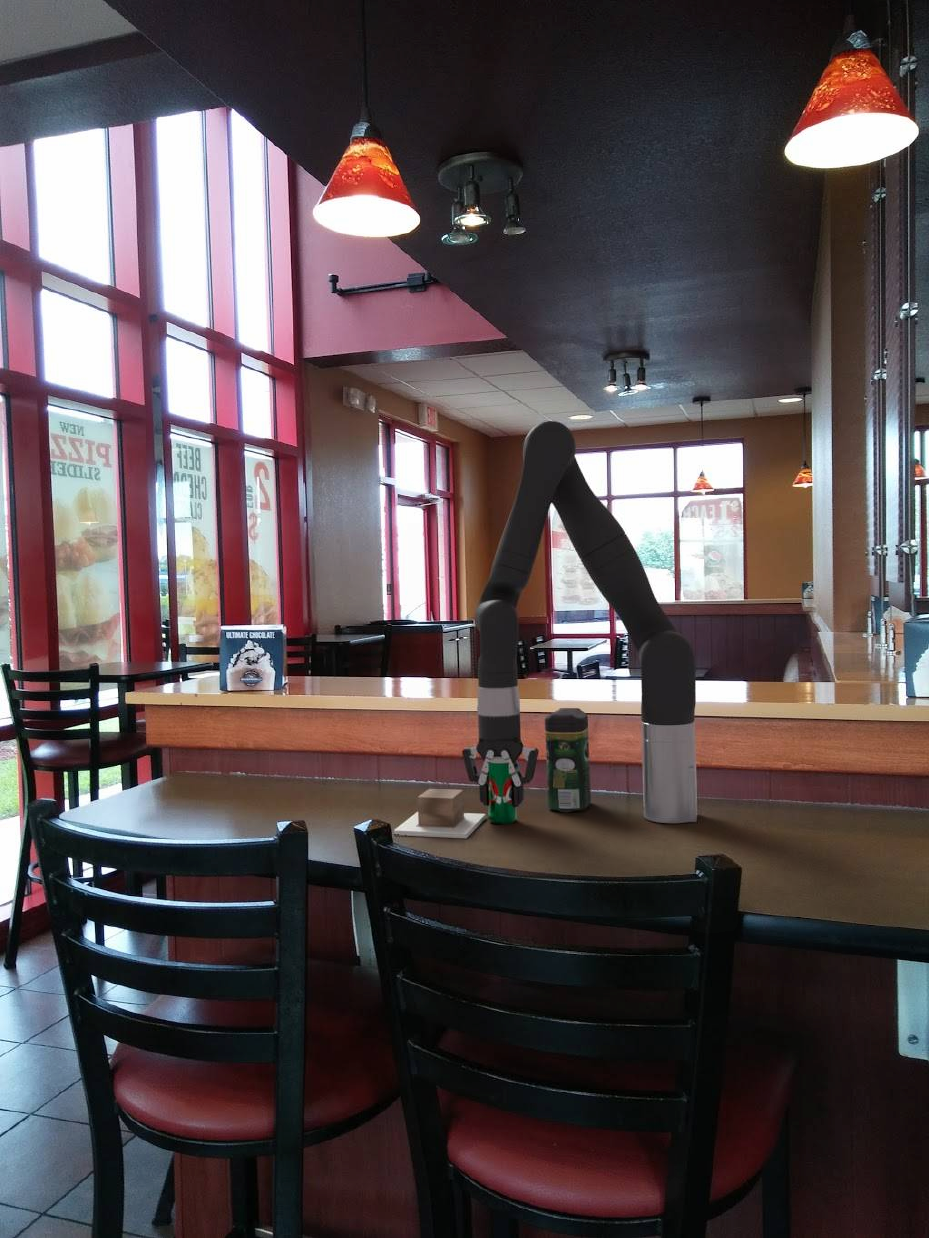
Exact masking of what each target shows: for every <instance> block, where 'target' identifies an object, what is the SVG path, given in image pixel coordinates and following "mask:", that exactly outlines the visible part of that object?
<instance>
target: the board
mask: <svg viewBox="0 0 929 1238" xmlns="http://www.w3.org/2000/svg"><path fill="white" fill-rule="evenodd" d="M486 815H487V814H486V813H473V812H472V813H471V812H469V813H467V812H464V818H463V819H462V820H461V821H460V822H459V823H457V824H456V825H455V826H454V827H441V826H420V825H419V824H418V811H417V812H415V813H414V814H412V816H410V817H409V818H408V819H407V820H405V821H404V822H402V823H401V824H400V825H399V826H398V827H396V828H395V829H394V830H393V835H394V834H396V835H395V836H405V835H406V836H409V837H426V838H427V837H428V838H449V839H451V838H452V839H467V838H468V837H470V836H471V834H472V833H473V832H474V831H475V830H476V829H477V828H478V827H479V826H480V825H481V824H483V822H484V821H485V820H486V818H487V816H486ZM397 834H399V835H397Z"/></svg>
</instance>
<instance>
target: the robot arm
mask: <svg viewBox="0 0 929 1238" xmlns="http://www.w3.org/2000/svg"><path fill="white" fill-rule="evenodd" d="M576 451H577V444H576V440H575V436H574V435H573V433H572V432H571V430H570V429H569V427H567V426H566V425H565V424H563V423H562V422H559V421H554V420H547V421H542V422H541V423H537V424H536V425H535V426H533V428H531V430H529V432H528V434H527V435H526V437H525V438H524V442H523V447H522V459H523V463H522V469H521V477H520V480H519V485H518V489H517V492H516V496H515V499H514V502H513V505H512V508H511V510H510V513H509V516H508V519H507V521H506V525H505V526H504V529H503V532H502V534H501V537H500V540H499V543H498V546H497V549H496V553H495V555H494V559H493V562H492V565H491V570H490V574H489V577H488V580H487V582H486V584H485V586H484V588H483V591H482V593H481V595H480V598H479V601H478V603H477V606H476V609H475V613H474V623H475V628H476V629H477V631H478V632H479V638H480V640H479V643H480V656H479V658H478V664H477V677H478V679H477V681H478V690H477V691H478V693H477V706H476V707H477V710H476V711H477V724H478V728H477V729H478V742H477V744H476V746H471V747H470V746H466V747H465V748H464V749H463V750H461V755H462V758H463V762H464V767H465V770H466V773H467V777H468V781H470V782H472V783H473V782H474V783H476V784H477V785H478V786H479V801H480V803H482V805H483V806H484V807H488V790H487V775H488V763H487V762H489V761H490V760H492V759H493V757H494V756H502V757H503V760H506V761H507V762H509V774H510V775H512V779H513V782H514V784H515V786H514V807H516V808H519V807H520V806H521V804H522V803H523V802H524V799H525V798H524V797H525V796H524V795H525V794H524V785H526V784H529V783H531V782H532V780H533V779H534V777H535V771H536V766H537V761H538V756H539V749H538V748H536V747H533V748H529V747H526V746H524V744H523V742H522V735H521V734H522V733H521V705H520V704H521V701H520V692H519V683H518V682H519V681H518V678H519V677H518V676H519V675H518V662H517V656H518V655H517V653H518V647H519V644H518V643H519V634H520V633H519V632H520V631H519V630H520V628H519V627H520V626H519V625H520V624H519V621H520V620H519V614H518V612H517V610H516V609H517V606H518V603H519V600H520V596H521V594H522V593H523V590H524V589H526V587H527V585H528V583H529V580H530V578H531V575H532V573H533V568H534V565H535V562H536V559H537V555H538V551H539V548H540V545H541V540H542V538H543V533H544V529H545V526H546V525H545V524H546V521H547V517H548V514H549V510H550V508H551V505H553V507H554V508H555V510H556V512H557V514H558V517H559V518H560V521H561V523H562V525H563V527H564V530H565V532H566V534H567V536H568V538H569V540H570V542H571V544H572V547H573V548H574V550H575V551H576V554H577V557H579V559H580V562H581V563H582V565H583V567H584V569H585V570H586V572H587V574H588V576H589V577H590V578H591V580H592V582H593V584H594V585H595V586H596V588H597V590H598V591H599V592H600V594H601V595H602V596H603V598H604V599H605V601H606V602H607V603H608V604H609V606H610V607H611V608H612V609H613V611H614V612H615V613H616V615H617V616H618V618H619V619H620V621H621V622H622V624H623V626H624V628H625V630H626V632H627V634H628V637H629V639H630V641H631V643H632V645H633V647H634V650H635V652H636V655H637V657H638V661H639V664H640V676H641V677H640V683H641V686H640V687H641V706H640V713H641V714H640V715H641V716H640V720H641V754H642V755H641V758H642V761H641V762H642V794H643V796H642V797H643V798H642V799H643V802H642V803H643V804H642V806H643V817H644V819H646V820H647V821H650V822H655V823H662V824H683V823H684V824H685V823H696V822H697V818H698V793H697V792H698V789H697V788H698V787H697V786H698V785H697V783H698V781H697V761H696V731H695V729H696V725H695V711H696V710H695V709H696V706H697V705H696V702H697V700H696V699H697V697H696V694H697V693H696V682H697V681H696V677H697V676H696V657H695V652H694V648H693V646H692V644H691V643H690V641H688V639H687V638H686V637H684V636H683V635H682V634H681V633H680V632H679V631H678V630H677V629H676V627H675V626H674V624H673V623H672V622H671V620H670V618H669V617H668V615H666V613H665V611H664V610H663V608H662V606H661V605H660V603H659V602H658V600H657V598H656V596H655V593H654V591H653V589H652V585H651V583H650V581H649V577H648V575H647V573H646V569H645V568H644V566H643V563H642V561H641V558H640V557H639V555H638V553H637V551H636V549H635V548H634V546H633V544H632V542H631V540H630V538H629V536H628V535H627V534H626V532H625V530H624V528H623V527H622V526H621V524H620V523H619V521H618V520H617V519H616V518H615V516H614V515H613V514H612V513H611V511H610V510H609V509H608V507H606V506H605V504H604V503H602V501H601V500H600V499H599V497H597V495H596V494H595V492H594V491H593V490H592V489H591V487H590V485H589V483H588V482H587V480H586V478H585V476H584V474H583V472H582V469H581V468H580V466H579V464H578V463H579V462H578V461H577V458H576ZM477 753H478V754H479V756H480V757H481V759H482V761H483V765H482V768H481V770H480V773H479V772H478V768H477V764H476V760H475V759H476V757H477ZM522 754H523V755H524V759H525V761H527V763H526V767H525V768H526V769H525V772H524V775H522V771H521V768H520V764H519V762H518V760H519V758H520V756H521V755H522ZM514 763H515V767H514ZM510 767H511V768H510Z"/></svg>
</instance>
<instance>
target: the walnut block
mask: <svg viewBox="0 0 929 1238" xmlns="http://www.w3.org/2000/svg"><path fill="white" fill-rule="evenodd" d="M464 805H465V804H464V789H449V788H448V789H445V788H442V789H441V788H428V789H427V790H425V791H424V792H422V793H421V794H420V795H419V796H417V812H418V824H419V825H420V826H441V827H454V826H455V825H456V824H457V823H459V822H460V821H461V820H462V819H463V818H464V813H465V810H464V809H465V807H464Z"/></svg>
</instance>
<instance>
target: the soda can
mask: <svg viewBox="0 0 929 1238" xmlns="http://www.w3.org/2000/svg"><path fill="white" fill-rule="evenodd" d="M487 763H488V775H487V790H488V806H487V817H488V820H489V821H490V823H492V824H495V825H509V824H512V823H514V822H515V821H516V820H517V816H518V815H517V807H514V786H515V784H514V782H513V779H512V775H510V774H509V762H507V761H506V760H503V757H502V756H494V757H493V759H492V760H490V761H489V762H487ZM514 767H515V763H514ZM510 768H511V767H510Z"/></svg>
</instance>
